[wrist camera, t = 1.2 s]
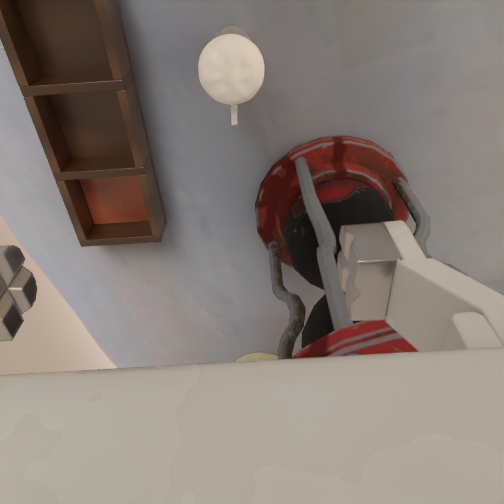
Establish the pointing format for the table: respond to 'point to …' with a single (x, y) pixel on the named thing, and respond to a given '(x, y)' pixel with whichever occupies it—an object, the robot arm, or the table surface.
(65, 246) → the table surface
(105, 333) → the table surface
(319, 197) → the hourglass
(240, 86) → the milkshake
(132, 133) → the compartment tray
